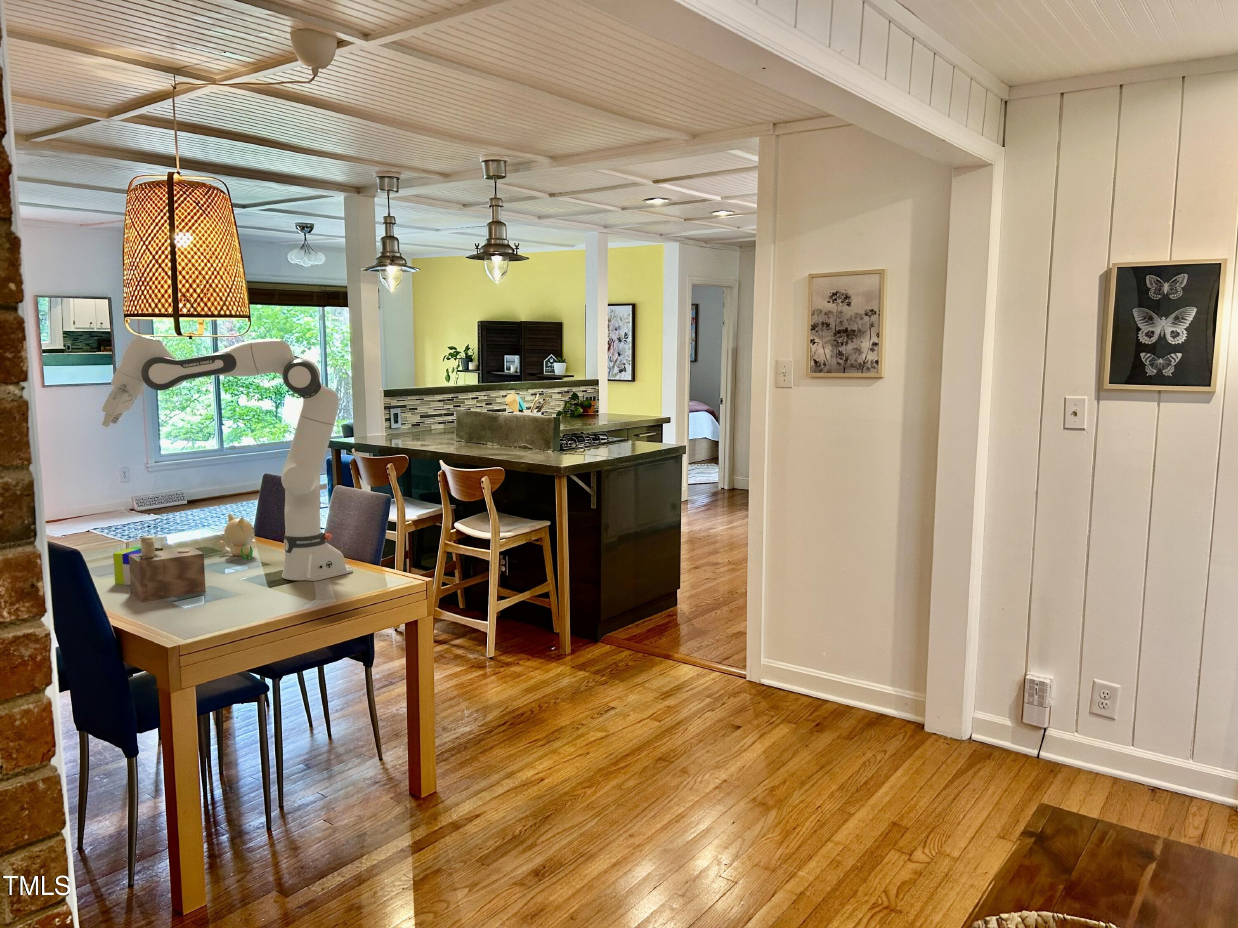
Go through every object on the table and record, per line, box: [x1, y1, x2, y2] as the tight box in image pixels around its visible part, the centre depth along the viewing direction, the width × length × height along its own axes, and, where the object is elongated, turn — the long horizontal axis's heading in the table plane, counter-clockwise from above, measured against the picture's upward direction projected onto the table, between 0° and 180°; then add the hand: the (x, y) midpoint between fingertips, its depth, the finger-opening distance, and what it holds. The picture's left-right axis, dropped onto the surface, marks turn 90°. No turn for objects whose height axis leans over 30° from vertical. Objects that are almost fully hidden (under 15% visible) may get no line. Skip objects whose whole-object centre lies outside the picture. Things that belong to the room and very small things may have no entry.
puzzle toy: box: [112, 546, 164, 586], centre depth 283 cm, size 10×10×10 cm
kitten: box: [218, 513, 256, 560], centre depth 318 cm, size 15×10×15 cm, turn 49°
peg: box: [140, 535, 156, 559], centre depth 266 cm, size 4×4×12 cm
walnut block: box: [129, 546, 207, 603], centre depth 270 cm, size 18×12×12 cm, turn 132°
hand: (109, 424), depth 271 cm, fingers open, 8 cm apart
